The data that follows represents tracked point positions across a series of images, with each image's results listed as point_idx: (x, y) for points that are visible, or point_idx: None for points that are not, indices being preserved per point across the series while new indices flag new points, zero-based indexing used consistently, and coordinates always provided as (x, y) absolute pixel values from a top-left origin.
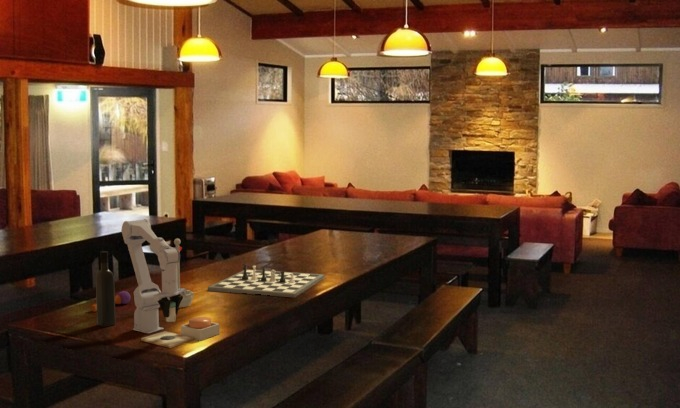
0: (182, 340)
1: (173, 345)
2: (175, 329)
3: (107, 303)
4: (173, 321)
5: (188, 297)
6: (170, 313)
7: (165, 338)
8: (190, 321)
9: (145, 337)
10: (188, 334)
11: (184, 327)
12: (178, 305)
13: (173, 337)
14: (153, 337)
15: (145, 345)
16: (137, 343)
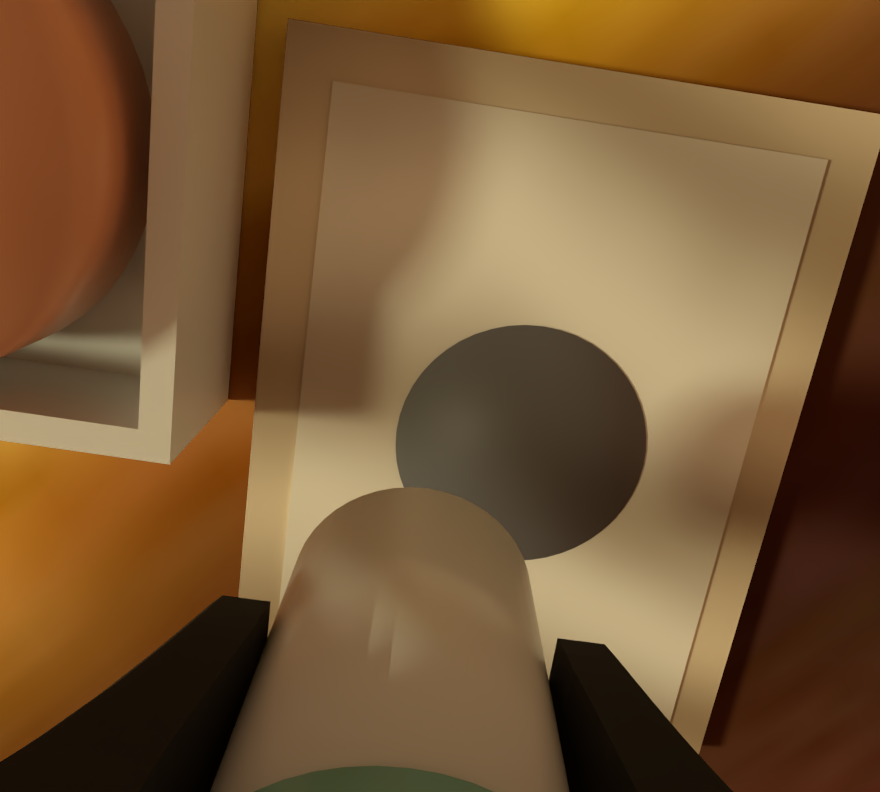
0: (533, 119)
1: (812, 103)
2: (18, 671)
3: None
4: (449, 494)
5: None
6: (533, 671)
7: (564, 458)
8: (38, 253)
9: None
10: (226, 222)
11: (180, 352)
12: (66, 769)
13: (459, 378)
14: None
15: (866, 558)
16: (819, 704)
